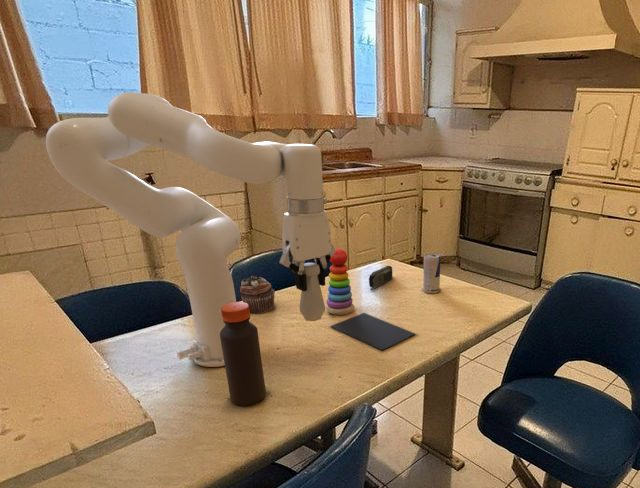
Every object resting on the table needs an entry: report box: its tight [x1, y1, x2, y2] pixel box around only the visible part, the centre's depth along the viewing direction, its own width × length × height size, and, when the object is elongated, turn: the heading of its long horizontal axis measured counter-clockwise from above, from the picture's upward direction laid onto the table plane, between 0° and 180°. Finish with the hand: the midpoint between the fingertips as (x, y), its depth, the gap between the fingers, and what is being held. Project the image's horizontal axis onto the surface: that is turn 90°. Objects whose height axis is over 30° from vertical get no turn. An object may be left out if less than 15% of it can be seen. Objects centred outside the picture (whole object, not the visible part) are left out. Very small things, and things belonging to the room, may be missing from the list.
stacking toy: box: [325, 247, 355, 316], centre depth 130 cm, size 8×8×19 cm
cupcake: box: [239, 274, 276, 314], centre depth 133 cm, size 10×10×10 cm
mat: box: [330, 312, 416, 352], centre depth 121 cm, size 12×20×1 cm, turn 49°
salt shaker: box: [299, 262, 326, 322], centre depth 103 cm, size 6×6×13 cm
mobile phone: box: [368, 265, 393, 291], centre depth 155 cm, size 5×3×15 cm
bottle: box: [220, 301, 267, 407], centre depth 89 cm, size 7×7×20 cm
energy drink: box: [422, 253, 441, 294], centre depth 148 cm, size 5×5×12 cm
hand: (310, 286), depth 103 cm, fingers closed on salt shaker, 4 cm apart
